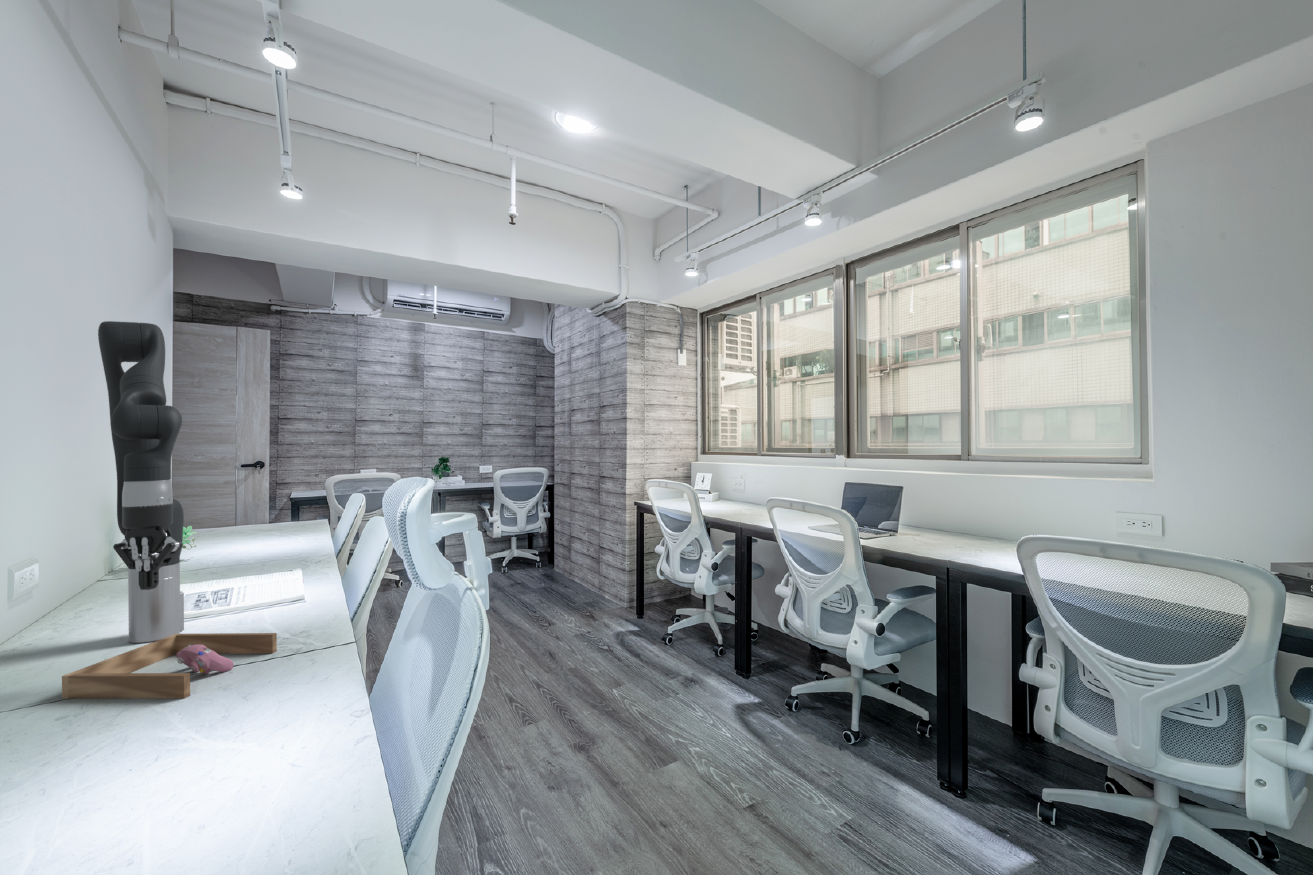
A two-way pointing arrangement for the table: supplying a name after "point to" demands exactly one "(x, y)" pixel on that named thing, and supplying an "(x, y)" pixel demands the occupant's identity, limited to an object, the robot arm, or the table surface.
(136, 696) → the wooden u-shaped frame
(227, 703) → the table surface
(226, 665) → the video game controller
